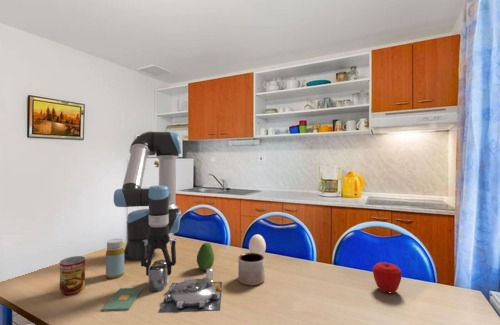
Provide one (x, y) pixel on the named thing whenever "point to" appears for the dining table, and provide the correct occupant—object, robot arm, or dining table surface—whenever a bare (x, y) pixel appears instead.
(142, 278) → the dining table surface
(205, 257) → the fruit
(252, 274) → the planter
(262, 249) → the egg
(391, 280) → the apple
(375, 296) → the dining table surface
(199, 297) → the sprocket
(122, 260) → the bottle
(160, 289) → the silver capsule block
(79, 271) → the canned food
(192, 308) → the bearing plate
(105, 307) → the green flat board
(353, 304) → the dining table surface
